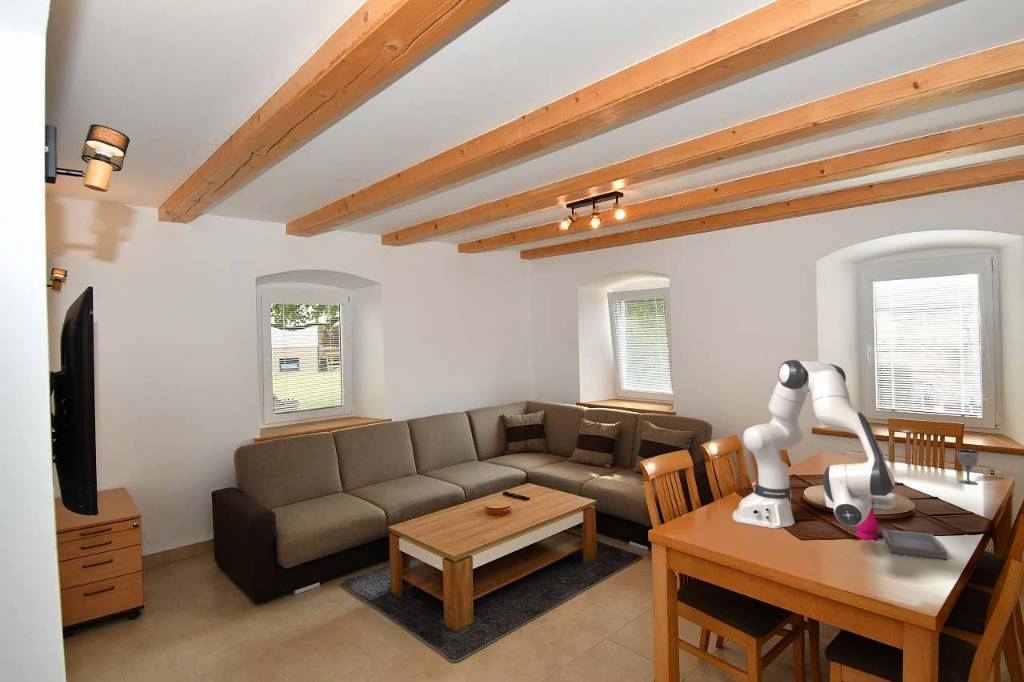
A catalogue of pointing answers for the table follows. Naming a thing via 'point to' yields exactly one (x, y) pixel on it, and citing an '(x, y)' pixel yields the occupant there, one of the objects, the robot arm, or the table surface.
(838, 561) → the table surface
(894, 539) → the tray
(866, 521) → the pepper mill
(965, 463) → the wine glass
